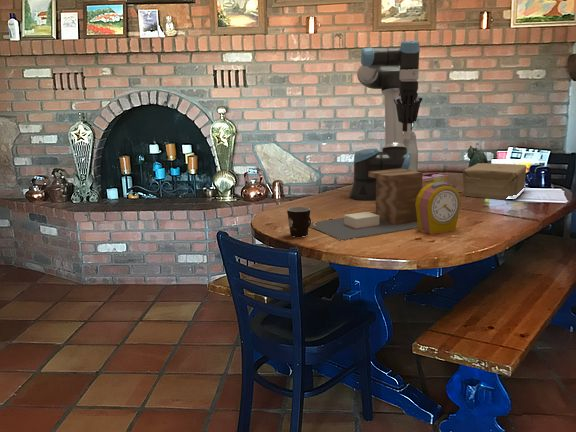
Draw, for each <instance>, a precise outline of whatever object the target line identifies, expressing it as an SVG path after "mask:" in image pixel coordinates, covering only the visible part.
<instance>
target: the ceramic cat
mask: <svg viewBox="0 0 576 432" xmlns="http://www.w3.org/2000/svg"><path fill="white" fill-rule="evenodd" d="M475 146H477V147H479V143H478V142H477V143H476V144H475ZM477 147H473V146H472V145H470V146H469V148H468V149H467V153H466V155H467V158H468V159H469V163H468V168H470V167H472V166H474V165H476V164H477V163H488V160H489V159H488V157H487V155H486V153H485V151H483V150H481V149H480V150H479V148H477Z"/></svg>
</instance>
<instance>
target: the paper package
mask: <svg viewBox="0 0 576 432" xmlns="http://www.w3.org/2000/svg"><path fill="white" fill-rule="evenodd" d="M526 174H527V165H526V164H515V163H513V164H510V163H477V164H476V165H474V166H472V167H470V168H469V167H468V168H465V169H463V172H462V186H463V196H465V197H472V198H482V199H493V200H496V199H497V200H504V201H505V199H506V198H507V197H508V196H513V195H517V194H518V193H519V192H520V191H521V190H522V189H523V188H525V187H526V186H525V185H526Z"/></svg>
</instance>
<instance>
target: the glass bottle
mask: <svg viewBox="0 0 576 432" xmlns="http://www.w3.org/2000/svg"><path fill="white" fill-rule="evenodd" d="M403 136H404V133H403ZM403 144H404V145H405V146H406V147H407V151H409V152H410V165H409V169H408V170H412V171H417V172H418V162H419V149H418V144H417V135H416V133H415V131H413V130H412V131H411V136H410V140H406V139H403Z"/></svg>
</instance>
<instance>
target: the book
mask: <svg viewBox="0 0 576 432" xmlns="http://www.w3.org/2000/svg"><path fill="white" fill-rule="evenodd" d="M343 218H344V225H346V226H349V227H351V228H354V229H360V228H367V227H373V226H379V215H376V214H373V213H372V212H371V211H363V212H362V211H361V212H355V213H350V214H344V217H343Z"/></svg>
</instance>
